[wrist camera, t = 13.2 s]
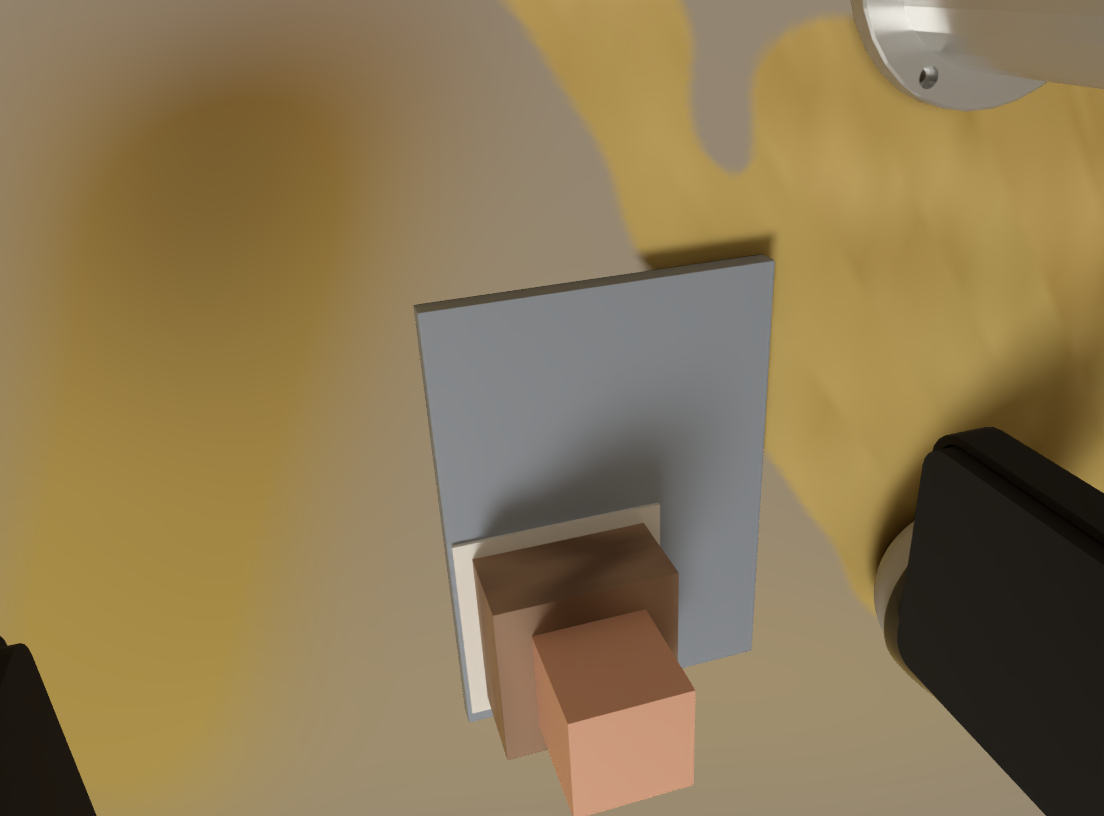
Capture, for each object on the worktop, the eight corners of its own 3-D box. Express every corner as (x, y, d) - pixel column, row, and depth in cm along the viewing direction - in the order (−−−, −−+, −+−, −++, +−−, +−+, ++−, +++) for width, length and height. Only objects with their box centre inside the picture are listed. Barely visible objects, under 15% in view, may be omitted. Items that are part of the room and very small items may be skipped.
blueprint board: (763, 254, 39) (777, 262, 38) (742, 638, 48) (753, 652, 47) (413, 304, 35) (418, 315, 34) (465, 707, 44) (470, 725, 43)
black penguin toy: (983, 617, 53) (1222, 831, 40) (827, 644, 50) (1030, 883, 37) (1030, 464, 49) (1316, 647, 35) (863, 484, 46) (1106, 690, 33)
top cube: (645, 609, 38) (695, 690, 34) (646, 698, 40) (693, 784, 36) (531, 636, 37) (567, 724, 33) (539, 726, 39) (574, 819, 35)
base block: (643, 522, 41) (678, 573, 38) (644, 657, 45) (677, 714, 41) (472, 559, 39) (492, 615, 36) (487, 697, 43) (507, 760, 40)
